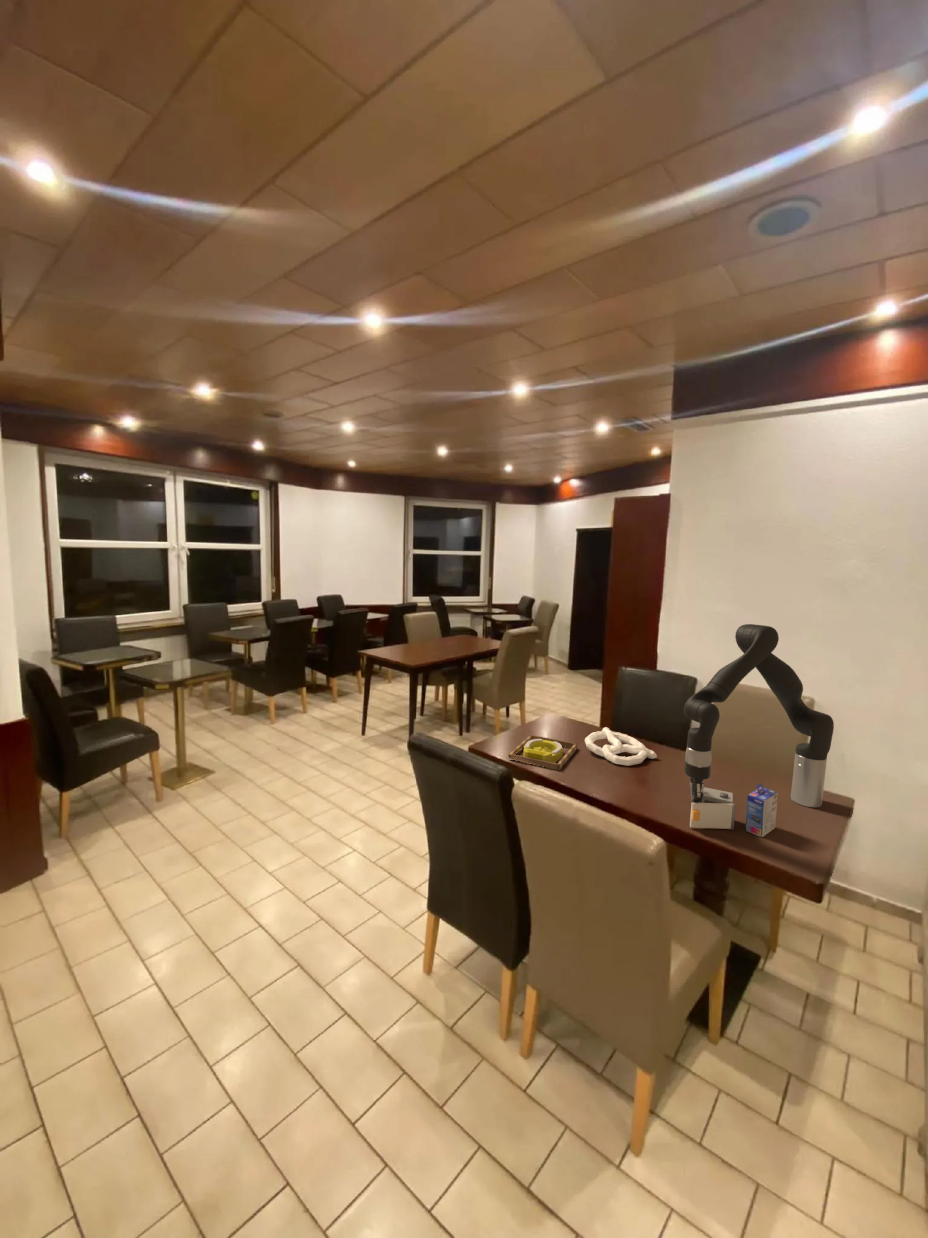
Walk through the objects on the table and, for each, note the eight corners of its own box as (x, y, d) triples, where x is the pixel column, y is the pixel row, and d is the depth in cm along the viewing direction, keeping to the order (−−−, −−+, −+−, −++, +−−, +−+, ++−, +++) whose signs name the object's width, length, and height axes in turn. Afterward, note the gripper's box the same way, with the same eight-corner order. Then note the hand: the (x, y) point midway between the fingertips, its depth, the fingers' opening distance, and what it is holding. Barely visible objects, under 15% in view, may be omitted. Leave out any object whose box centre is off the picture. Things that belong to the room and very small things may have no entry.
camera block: (700, 812, 173) (702, 784, 171) (730, 818, 168) (732, 790, 167) (699, 821, 166) (701, 793, 165) (730, 828, 162) (732, 799, 161)
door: (689, 826, 162) (691, 802, 161) (732, 828, 162) (734, 803, 161) (692, 830, 160) (694, 805, 159) (735, 831, 160) (737, 806, 159)
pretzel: (660, 760, 219) (662, 747, 218) (627, 776, 205) (629, 762, 204) (607, 734, 241) (609, 721, 239) (574, 746, 227) (576, 733, 225)
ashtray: (515, 761, 213) (516, 750, 213) (531, 745, 232) (531, 734, 231) (554, 769, 206) (554, 757, 206) (566, 751, 225) (567, 741, 224)
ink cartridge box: (757, 821, 167) (761, 779, 165) (775, 828, 163) (780, 785, 161) (743, 830, 161) (747, 787, 160) (762, 838, 157) (766, 793, 155)
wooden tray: (530, 739, 238) (530, 734, 237) (577, 748, 228) (577, 743, 227) (508, 760, 214) (508, 754, 213) (559, 770, 204) (559, 764, 203)
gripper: (683, 751, 170) (680, 800, 173) (687, 768, 158) (684, 820, 160) (708, 754, 168) (704, 803, 170) (714, 771, 155) (710, 824, 158)
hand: (694, 811), depth 165 cm, fingers closed
